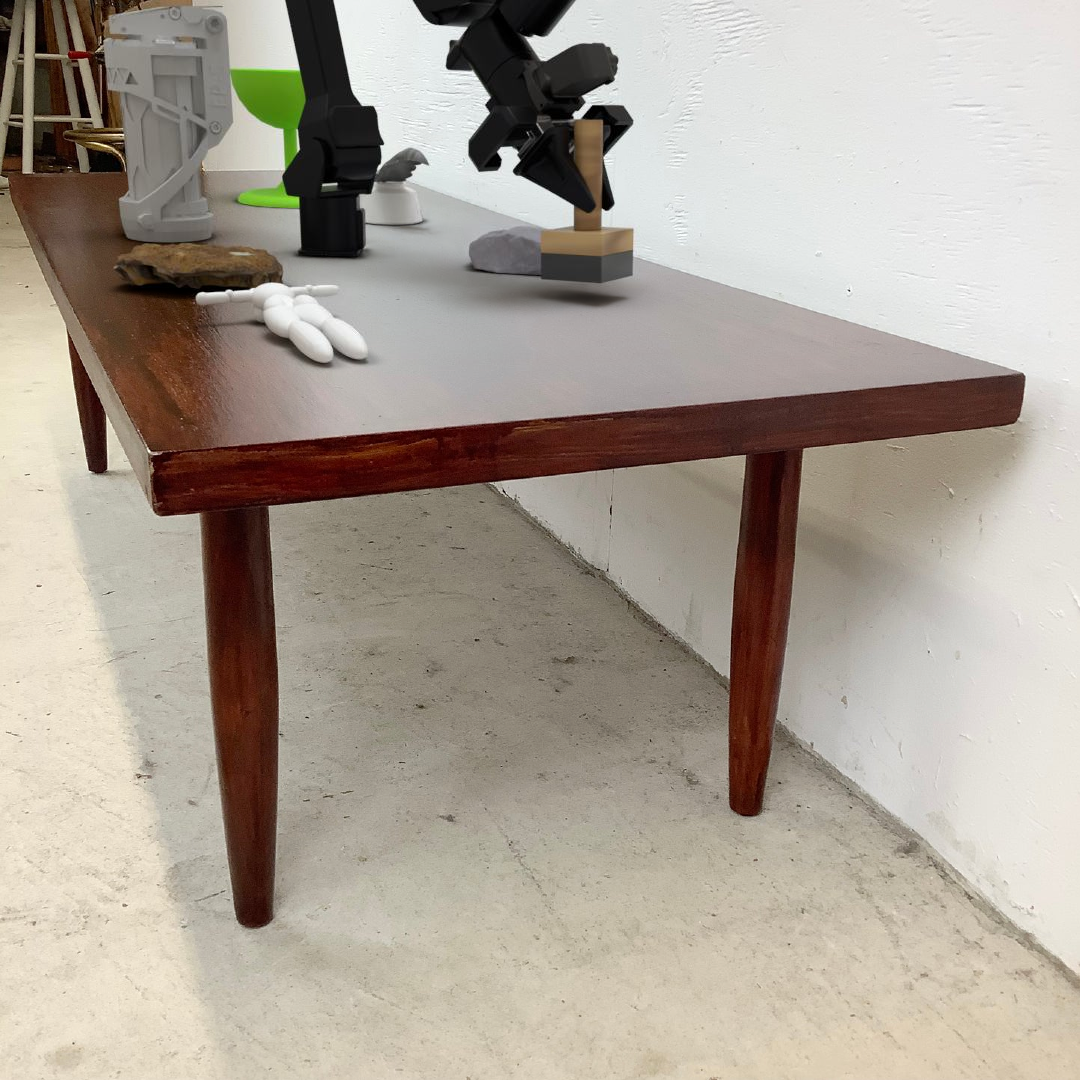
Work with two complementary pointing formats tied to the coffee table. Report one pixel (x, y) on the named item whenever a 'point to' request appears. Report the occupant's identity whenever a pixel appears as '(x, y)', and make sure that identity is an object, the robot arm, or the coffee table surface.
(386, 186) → the inkwell
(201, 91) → the grey mechanical model
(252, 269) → the decorative rock
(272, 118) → the wineglass
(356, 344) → the decorative figure
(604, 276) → the rubber stamp
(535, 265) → the stone block
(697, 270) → the coffee table surface
